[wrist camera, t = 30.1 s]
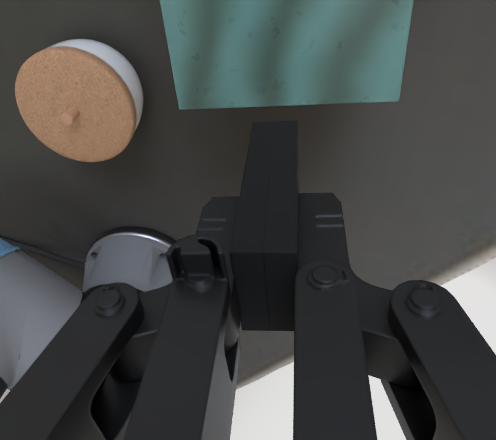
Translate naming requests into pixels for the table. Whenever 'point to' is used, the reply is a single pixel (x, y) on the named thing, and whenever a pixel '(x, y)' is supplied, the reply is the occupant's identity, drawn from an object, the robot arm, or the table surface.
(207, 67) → the chest lid
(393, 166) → the table surface
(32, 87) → the trinket box
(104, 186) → the table surface
